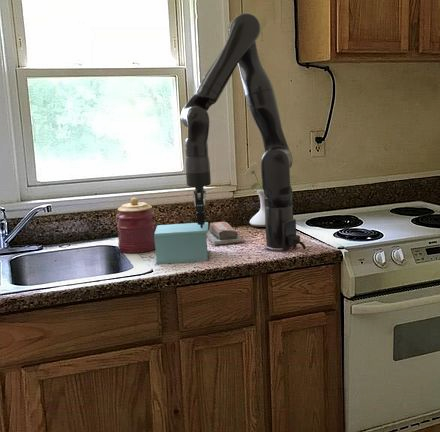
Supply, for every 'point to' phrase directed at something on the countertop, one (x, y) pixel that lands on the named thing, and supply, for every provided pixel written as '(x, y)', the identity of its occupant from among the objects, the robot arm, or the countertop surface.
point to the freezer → (181, 248)
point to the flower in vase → (260, 216)
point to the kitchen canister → (136, 227)
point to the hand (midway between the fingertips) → (201, 221)
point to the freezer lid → (181, 229)
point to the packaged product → (222, 234)
